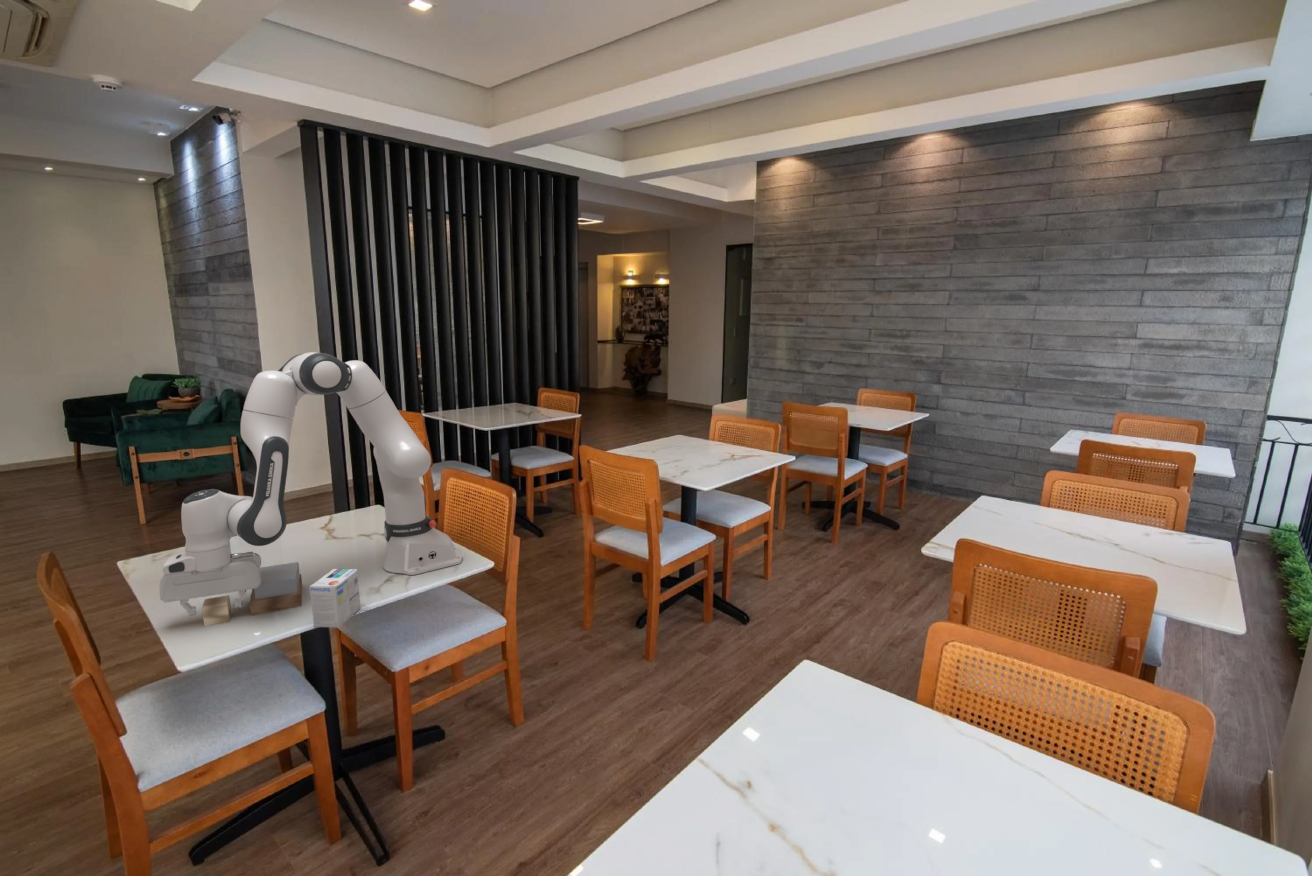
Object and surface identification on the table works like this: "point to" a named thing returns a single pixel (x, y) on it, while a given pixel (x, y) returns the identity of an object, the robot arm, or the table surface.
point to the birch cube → (216, 610)
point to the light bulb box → (335, 597)
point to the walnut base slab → (276, 601)
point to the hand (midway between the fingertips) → (215, 610)
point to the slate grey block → (278, 580)
